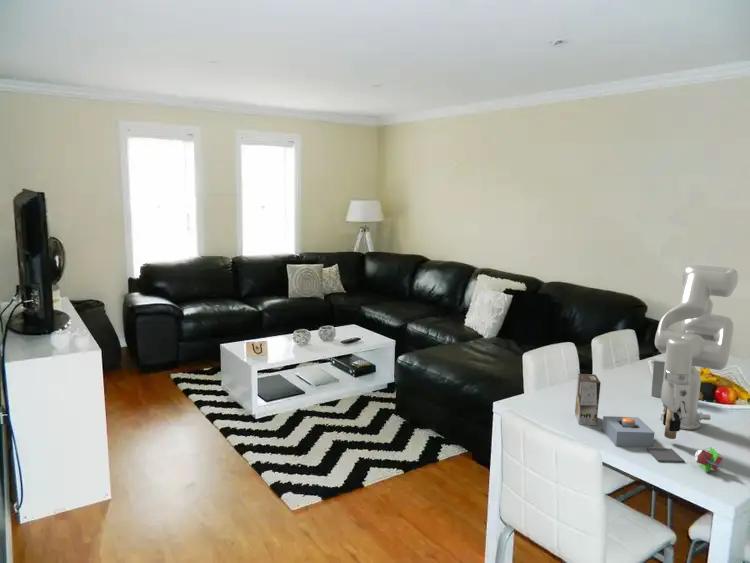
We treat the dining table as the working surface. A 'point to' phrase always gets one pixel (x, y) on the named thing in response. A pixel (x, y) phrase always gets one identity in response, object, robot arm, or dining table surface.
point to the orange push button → (628, 422)
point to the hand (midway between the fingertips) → (671, 427)
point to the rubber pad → (665, 455)
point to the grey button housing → (628, 432)
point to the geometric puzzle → (708, 459)
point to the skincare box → (658, 376)
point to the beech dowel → (669, 433)
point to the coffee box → (587, 399)
